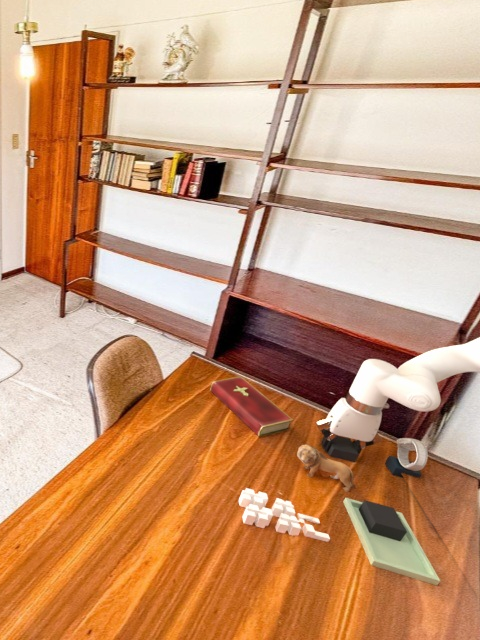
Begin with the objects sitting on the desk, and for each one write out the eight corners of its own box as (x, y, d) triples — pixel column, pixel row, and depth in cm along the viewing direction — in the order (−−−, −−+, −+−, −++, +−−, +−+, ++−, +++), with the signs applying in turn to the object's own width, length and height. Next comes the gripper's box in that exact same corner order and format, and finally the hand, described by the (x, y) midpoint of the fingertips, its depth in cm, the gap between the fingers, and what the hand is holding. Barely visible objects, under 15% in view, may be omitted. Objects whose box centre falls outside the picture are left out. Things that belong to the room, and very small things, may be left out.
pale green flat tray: (398, 518, 95) (401, 512, 94) (436, 586, 82) (440, 581, 81) (342, 502, 98) (345, 497, 97) (370, 566, 85) (373, 560, 84)
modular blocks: (243, 523, 92) (248, 512, 91) (237, 497, 98) (241, 486, 97) (339, 548, 88) (346, 537, 86) (326, 519, 94) (332, 508, 92)
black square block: (387, 517, 95) (394, 507, 93) (400, 541, 89) (407, 531, 88) (358, 509, 96) (364, 499, 95) (369, 532, 91) (375, 522, 90)
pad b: (345, 447, 115) (350, 438, 113) (354, 463, 109) (359, 454, 108) (321, 441, 116) (326, 432, 115) (329, 457, 111) (333, 448, 109)
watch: (405, 464, 110) (424, 435, 105) (419, 488, 103) (440, 458, 98) (381, 458, 112) (398, 429, 107) (393, 481, 105) (412, 451, 100)
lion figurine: (291, 476, 105) (303, 452, 101) (287, 461, 109) (298, 437, 105) (357, 496, 100) (372, 472, 96) (350, 479, 105) (364, 455, 101)
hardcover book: (258, 437, 117) (262, 426, 115) (209, 390, 135) (212, 380, 133) (289, 429, 120) (293, 419, 118) (237, 385, 138) (241, 375, 136)
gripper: (395, 401, 106) (367, 449, 113) (321, 386, 111) (299, 433, 118) (410, 421, 99) (380, 470, 107) (331, 403, 104) (307, 452, 112)
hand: (338, 450), depth 112 cm, fingers closed on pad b, 6 cm apart
